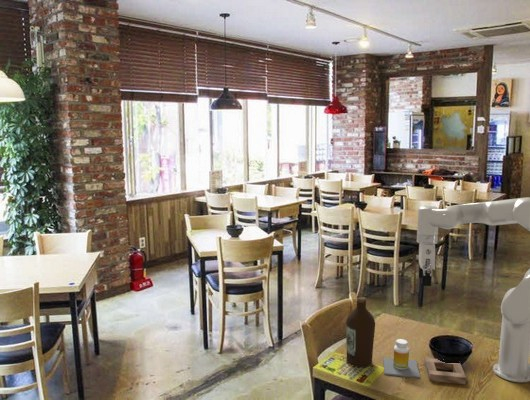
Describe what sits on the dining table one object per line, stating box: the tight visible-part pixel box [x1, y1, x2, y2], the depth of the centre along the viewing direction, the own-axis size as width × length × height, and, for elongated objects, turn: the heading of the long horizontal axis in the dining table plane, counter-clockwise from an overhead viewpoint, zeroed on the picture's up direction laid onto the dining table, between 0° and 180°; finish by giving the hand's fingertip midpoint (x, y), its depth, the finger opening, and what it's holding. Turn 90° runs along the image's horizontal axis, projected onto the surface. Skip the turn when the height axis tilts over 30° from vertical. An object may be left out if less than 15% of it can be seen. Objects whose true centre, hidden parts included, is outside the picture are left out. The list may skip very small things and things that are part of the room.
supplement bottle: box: [392, 338, 410, 370], centre depth 171 cm, size 5×5×10 cm
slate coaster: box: [382, 357, 421, 379], centre depth 172 cm, size 12×12×1 cm
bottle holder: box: [424, 357, 467, 385], centre depth 168 cm, size 12×12×2 cm
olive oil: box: [345, 296, 376, 368], centre depth 175 cm, size 11×11×25 cm
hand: (424, 281), depth 181 cm, fingers open, 9 cm apart
